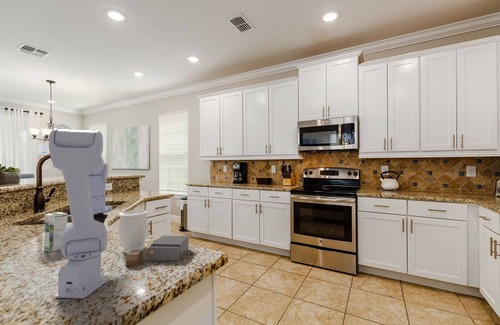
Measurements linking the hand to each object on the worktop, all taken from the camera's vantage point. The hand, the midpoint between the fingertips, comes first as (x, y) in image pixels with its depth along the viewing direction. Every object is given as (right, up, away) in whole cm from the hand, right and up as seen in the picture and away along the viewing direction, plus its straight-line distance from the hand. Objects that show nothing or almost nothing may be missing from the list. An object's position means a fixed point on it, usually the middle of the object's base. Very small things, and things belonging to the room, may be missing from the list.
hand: (95, 236), depth 78 cm
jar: (+5, -10, +16) cm, 19 cm away
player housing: (+22, -10, +11) cm, 26 cm away
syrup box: (-27, -10, +16) cm, 33 cm away
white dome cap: (+22, -8, +9) cm, 25 cm away
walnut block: (+12, -10, +2) cm, 16 cm away
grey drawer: (+22, -10, +9) cm, 25 cm away
